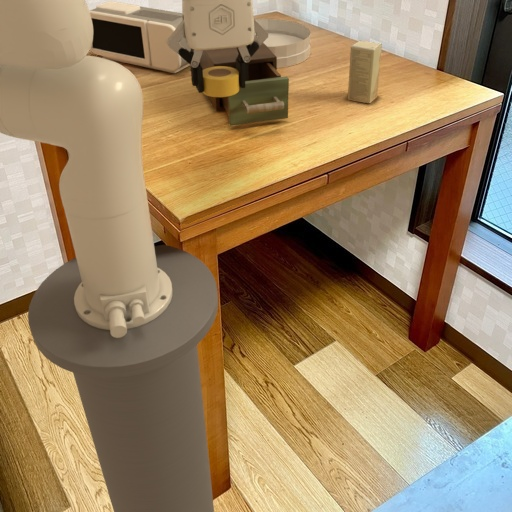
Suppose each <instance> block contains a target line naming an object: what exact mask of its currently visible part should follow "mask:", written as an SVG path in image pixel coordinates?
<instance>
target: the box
mask: <svg viewBox="0 0 512 512" xmlns="http://www.w3.org/2000/svg"><path fill="white" fill-rule="evenodd" d="M382 49H383V44H382V43H381V42H373V41H367V40H358V41H357V42H355V43H354V44H352V45H351V46H350V53H349V54H350V55H349V56H350V57H349V58H350V59H349V73H348V88H347V100H348V101H353V102H359V103H364V104H371V103H372V102H374V100H376V99H377V98H378V94H379V83H380V72H381V71H380V70H381V60H382Z"/></svg>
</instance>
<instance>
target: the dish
mask: <svg viewBox="0 0 512 512" xmlns="http://www.w3.org/2000/svg"><path fill="white" fill-rule="evenodd" d="M254 20H255V21H256V22H257V23H258V24H259V25H260V26H261V27H262V28H263V29H264V30H265V31H266V32H267V33H268V38H267V39H266V40H265V41H264V42H263V43H264V44H265V45H266V46H267V47H268V48H269V49H270V50H271V51H272V52H273V53H274V55H275V56H276V57H277V69H282V68H288V67H292V66H296V65H298V64H301V63H304V62H305V61H306V60H307V59H309V58H310V56H311V51H312V50H311V49H312V47H311V46H312V44H311V33H312V32H311V30H310V28H309V27H308V26H306V25H305V24H302V23H299V22H296V21H292V20H287V19H280V18H279V19H278V18H256V19H255V18H254ZM254 35H256V33H255V31H254Z"/></svg>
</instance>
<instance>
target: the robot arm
mask: <svg viewBox="0 0 512 512" xmlns="http://www.w3.org/2000/svg"><path fill="white" fill-rule="evenodd" d="M181 10H182V11H181V13H182V22H181V23H180V24H179V25H178V27H177V28H176V29H175V31H174V32H173V33H172V34H171V36H170V37H169V38H168V39H167V44H168V46H169V47H170V48H171V49H172V50H174V51H175V52H176V53H177V54H179V55H180V56H181V57H182V58H183V59H184V60H185V61H187V62H188V63H189V64H190V65H189V66H190V75H191V76H190V78H191V79H190V80H191V85H192V86H193V87H195V88H196V90H197V92H198V93H199V94H203V92H204V86H203V69H202V67H201V65H200V59H201V56H202V53H203V50H213V49H223V48H233V47H236V49H237V51H238V57H237V59H236V69H237V70H238V71H239V86H240V88H245V81H247V80H248V62H249V61H250V60H251V57H252V56H253V54H254V53H255V52H256V51H257V50H258V49H259V46H260V45H261V44H262V43H263V42H264V41H265V40H266V39H267V38H268V33H267V32H266V31H265V30H264V29H263V28H262V27H261V26H260V25H259V24H258V23H257V22H256V21H255V20H254V19H255V18H254V5H253V0H182V2H181ZM89 11H90V9H89V7H88V4H87V2H86V0H0V134H2V135H4V136H5V135H6V136H8V137H12V138H16V139H20V140H25V141H31V142H36V143H41V144H48V145H51V146H56V147H60V148H64V149H65V150H66V151H67V152H68V159H67V162H66V164H65V165H64V167H63V169H62V172H61V174H60V178H59V183H58V186H59V187H58V188H59V195H60V199H61V203H62V207H63V209H64V214H65V218H66V223H67V226H68V230H69V234H70V238H71V243H72V247H73V250H74V254H75V258H76V259H77V263H78V267H79V271H80V275H81V279H82V282H81V283H80V285H79V286H78V288H77V290H76V292H75V296H74V304H75V308H76V311H77V313H78V315H79V317H80V318H81V319H82V320H83V321H84V322H86V323H88V324H89V325H91V326H94V327H97V328H100V329H105V330H110V333H111V335H112V336H113V337H116V338H120V337H123V336H125V334H126V333H127V329H131V328H135V327H138V326H141V325H144V324H146V323H148V322H150V321H152V320H154V319H155V318H157V317H158V316H159V315H161V314H162V313H163V312H164V311H165V310H166V308H167V307H168V305H169V304H170V302H171V299H172V292H173V290H172V283H171V281H170V278H169V277H168V275H167V274H166V273H165V272H164V271H162V270H161V269H159V268H157V262H156V255H155V248H154V246H155V242H154V234H153V229H152V222H151V221H152V220H151V214H150V207H149V199H148V193H147V187H146V179H145V173H144V163H143V145H142V144H143V140H142V139H143V119H144V96H143V95H144V94H143V90H142V87H141V84H140V82H139V81H138V79H137V77H136V75H135V74H133V72H132V71H130V70H129V69H128V68H127V67H125V65H122V64H121V63H119V62H117V61H115V60H111V59H106V58H103V57H99V56H95V55H88V53H89V52H90V51H91V50H90V48H91V46H92V42H93V24H92V19H91V15H90V12H89ZM254 31H255V33H256V35H255V37H254ZM183 36H184V38H185V40H186V41H187V44H188V45H189V47H190V51H188V50H187V49H186V48H184V47H183V46H182V45H181V44H180V43H179V42H180V40H181V39H182V38H183Z"/></svg>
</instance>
